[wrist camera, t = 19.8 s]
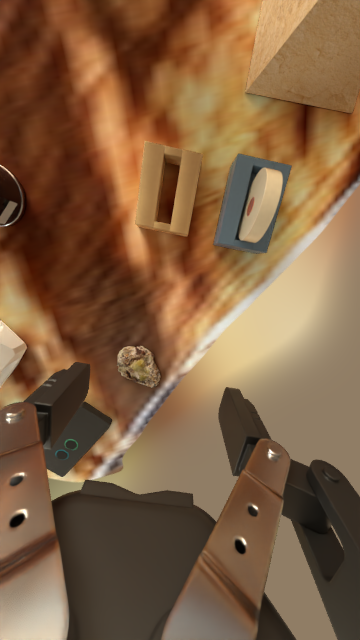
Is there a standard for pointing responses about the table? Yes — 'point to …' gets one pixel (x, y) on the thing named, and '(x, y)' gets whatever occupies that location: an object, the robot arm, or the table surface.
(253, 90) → the model pyramid
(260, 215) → the disc
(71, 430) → the smart home device
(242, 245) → the stand
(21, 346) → the white step stool
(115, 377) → the table surface
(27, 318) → the table surface
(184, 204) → the rack
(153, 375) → the mineral rock
